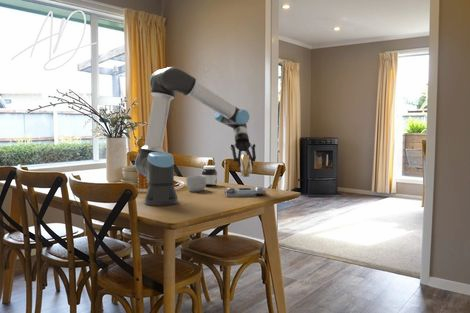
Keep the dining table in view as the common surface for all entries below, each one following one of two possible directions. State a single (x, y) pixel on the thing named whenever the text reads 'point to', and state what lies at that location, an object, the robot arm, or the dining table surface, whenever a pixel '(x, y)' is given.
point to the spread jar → (210, 176)
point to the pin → (245, 165)
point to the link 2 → (250, 190)
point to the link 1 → (232, 193)
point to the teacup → (196, 183)
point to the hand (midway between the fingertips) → (246, 171)
